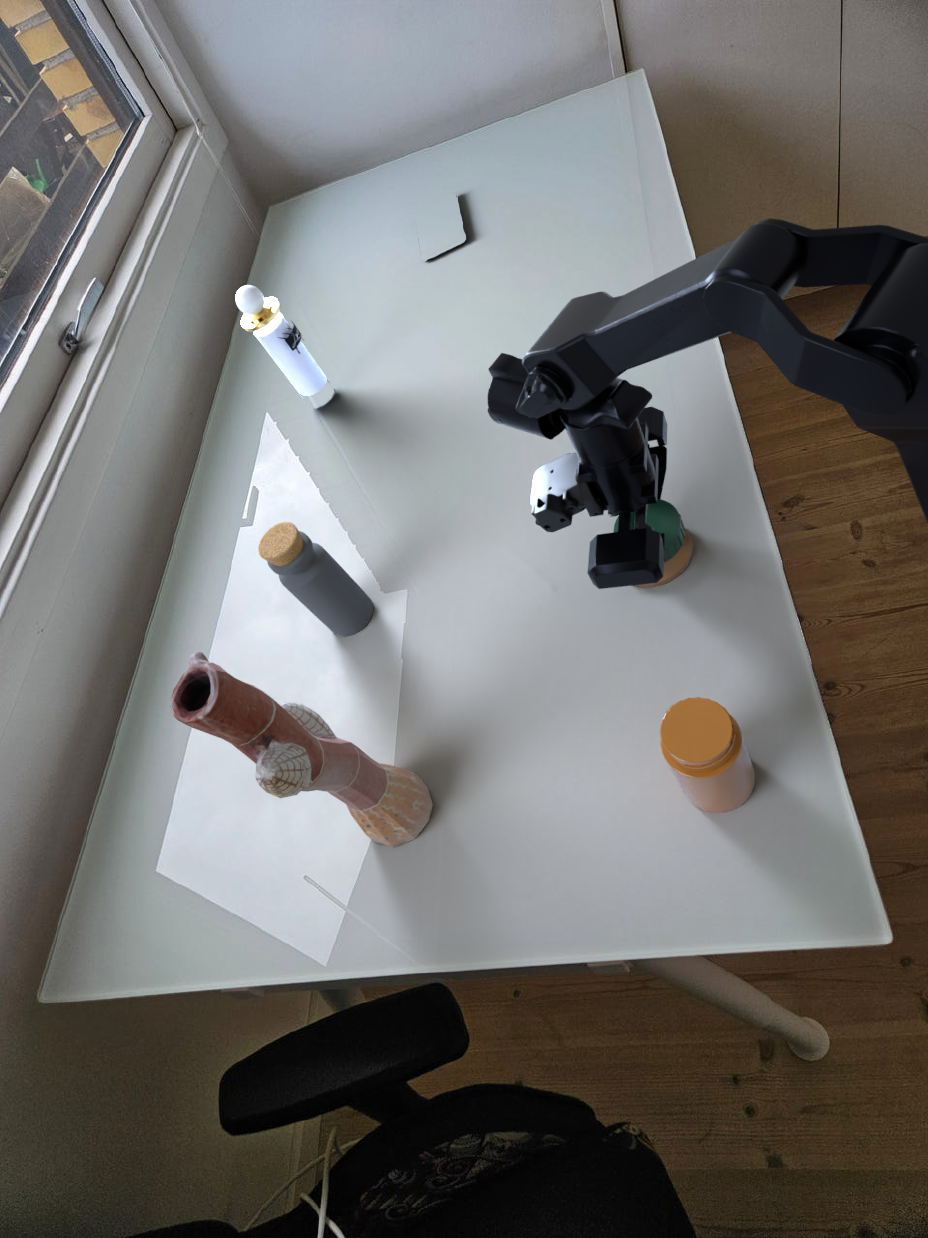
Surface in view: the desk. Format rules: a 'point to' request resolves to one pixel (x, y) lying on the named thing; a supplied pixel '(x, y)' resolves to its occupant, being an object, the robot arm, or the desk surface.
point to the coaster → (675, 563)
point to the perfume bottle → (279, 340)
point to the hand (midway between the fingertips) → (649, 547)
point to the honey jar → (707, 754)
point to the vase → (301, 752)
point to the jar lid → (665, 526)
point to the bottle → (316, 579)
